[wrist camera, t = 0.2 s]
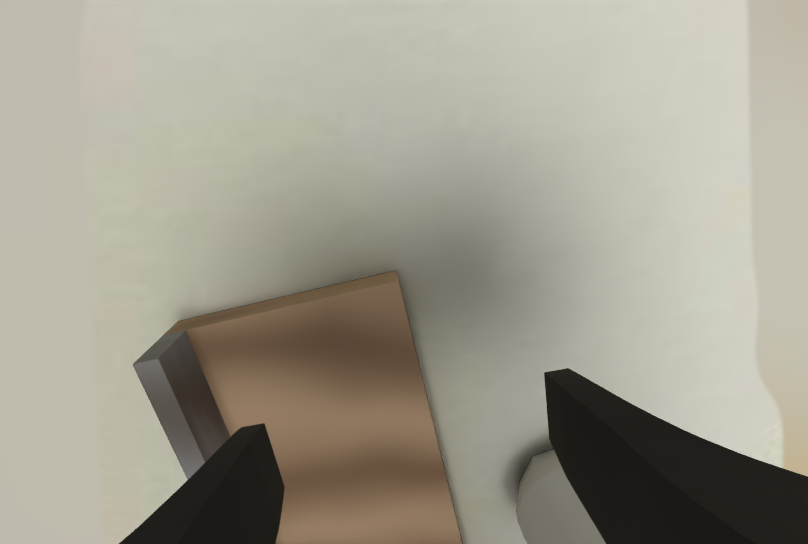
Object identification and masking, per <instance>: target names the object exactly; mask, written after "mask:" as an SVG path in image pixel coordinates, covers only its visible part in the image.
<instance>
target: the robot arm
mask: <svg viewBox="0 0 808 544" xmlns="http://www.w3.org/2000/svg"><path fill="white" fill-rule="evenodd" d="M544 375H545V388H546V401H547V414H548V427H549V439H550V442H551V444H552V446H553V449H554V451H555V453H556V455H557V458H558V460H559V462H560V464H561V467H562V469H563V471H564V473H565V475H566V477H567V479H568V481H569V482H570V484H571V486H572V488H573V489H574V491H575V493H576V494H577V496H578V498H579V499H580V501H581V503H582V504H583V506H584V508H585V510H586V511H587V513H588V515H589V516H590V518H591V520H592V521H593V523H594V525H595V526H596V528H597V530H598V531H599V533H600V535H601V536H602V538H603V540H604V541H605V543H606V544H808V477H807V476H804V475H801V474H797V473H795V472H792V471H789V470H786V469H783V468H780V467H777V466H774V465H771V464H768V463H765V462H762V461H759V460H756V459H753V458H751V457H748V456H745V455H742V454H740V453H737V452H735V451H732V450H730V449H727V448H725V447H722V446H720V445H717V444H715V443H712V442H710V441H707V440H705V439H703V438H700V437H698V436H696V435H693V434H691V433H689V432H687V431H684V430H682V429H680V428H678V427H676V426H674V425H672V424H670V423H668V422H666V421H664V420H662V419H659V418H657V417H655V416H653V415H652V414H650V413H648V412H646V411H644V410H642V409H640V408H638V407H636V406H634V405H632V404H631V403H629V402H627V401H625V400H623V399H621V398H620V397H618V396H616V395H614V394H613V393H611V392H609V391H607V390H606V389H604V388H602V387H600V386H599V385H597V384H595V383H593V382H592V381H590V380H588V379H586V378H585V377H583V376H581V375H579V374H578V373H576V372H574V371H572V370H570V369H568V368H567V369H562V370H556V371H551V372H545V373H544ZM284 489H285V486H284V483H283V480H282V477H281V474H280V470H279V467H278V464H277V461H276V458H275V455H274V452H273V448H272V445H271V442H270V439H269V436H268V433H267V430H266V426H265V423H262V424H257V425H251V426H245V427H241V428H239V429H238V430H237V431H236V432H235V433H234V434H233V435H232V436H231V437H230V438H229V439H228V440H227V441H226V442H225V443H224V444H223V445H222V446H221V447H220V448H219V449H218V450H217V451H216V452H215V453H214V454H213V455H212V456H211V457H210V458H209V459H208V460H207V461H206V462H205V463H204V464H203V465H202V466H201V467H200V468H199V469H198V470H197V471H196V472H195V473H194V474H193V475H192V476H191V477H190V478H189V479H188V480H187V481H186V482H185V483H184V484H183V485H182V486H181V487H180V488H179V489H178V490H177V491H176V492H175V493H174V494H173V495H172V496H171V497H170V498H169V499H168V500H167V501H166V502H165V503H164V504H162V505H161V506H160V507H159V508H158V509H157V510H156V511H155V512H154V513H153V514H152V515H151V516H150V517H149V518H148V519H146V520H145V521H144V522H143V523H142V524H141V525H140V526H139V527H138V528H137V529H135V530H134V531H133V532H132V533H131V534H130V535H129V536H127V537H126V538H125V539H124V540H123V541H122V542H120V543H119V544H275V543H276V539H277V535H278V531H279V526H280V519H281V513H282V505H283V497H284Z"/></svg>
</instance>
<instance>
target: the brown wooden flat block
mask: <svg viewBox="0 0 808 544" xmlns="http://www.w3.org/2000/svg"><path fill="white" fill-rule="evenodd" d="M133 367H134V369H135V371H136V373H137V375H138V377H139V379H140V381H141V383H142V385H143V387H144V389H145V392H146V394H147V396H148V398H149V400H150V402H151V404H152V406H153V408H154V410H155V412H156V415H157V417H158V419H159V421H160V423H161V425H162V427H163V429H164V431H165V433H166V435H167V437H168V440H169V442H170V444H171V446H172V448H173V450H174V452H175V454H176V456H177V458H178V460H179V462H180V465H181V467H182V469H183V471H184V473H185V475H186V477H187V479H189V478H190V477H191V476H192V475H193V474H194V473H195V472H196V471H197V470H198V469H199V468H200V467H201V466H202V465H203V464H204V463H205V462H206V461H207V460H208V459H209V458H210V457H211V456H212V455H213V454H214V453H215V452H216V451H217V450H218V449H219V448H220V447H221V446H222V445H223V444H224V443H225V442H226V441H227V440H228V439H229V438H230V437H231V436H232V435H233V434H234V433H235V432H236V431H237V430H238V429H239V428H241V427H245V426H251V425H257V424H262V423H265V426H266V430H267V433H268V436H269V439H270V442H271V445H272V448H273V452H274V455H275V458H276V461H277V464H278V467H279V470H280V474H281V477H282V480H283V483H284V486H285V489H284V497H283V505H282V513H281V519H280V526H279V531H278V535H277V539H276V543H275V544H463V543H462V538H461V534H460V530H459V526H458V522H457V518H456V514H455V509H454V505H453V501H452V497H451V493H450V489H449V485H448V481H447V476H446V472H445V468H444V464H443V460H442V456H441V452H440V448H439V443H438V439H437V435H436V431H435V427H434V423H433V419H432V414H431V410H430V406H429V402H428V398H427V394H426V390H425V386H424V381H423V377H422V373H421V369H420V365H419V361H418V357H417V352H416V348H415V344H414V340H413V336H412V332H411V328H410V324H409V319H408V315H407V311H406V307H405V303H404V299H403V295H402V291H401V286H400V282H399V278H398V274H397V270H396V271H392V272H388V273H383V274H379V275H375V276H370V277H366V278H362V279H358V280H353V281H349V282H345V283H340V284H336V285H332V286H327V287H323V288H319V289H315V290H310V291H306V292H302V293H297V294H293V295H289V296H285V297H280V298H276V299H272V300H267V301H263V302H259V303H254V304H250V305H246V306H242V307H237V308H233V309H229V310H224V311H220V312H216V313H212V314H207V315H203V316H199V317H194V318H190V319H186V320H181V321H178V322H177V323H176V324H175V325H174V326H173V327H172V328H171V329H169V330H168V331H167V332H166V333H165V334H164V335H163V336H162V337H161V338H160V339H159V340H158V341H157V342H156V343H155V344H154V345H153V346H152V347H151V348H149V349H148V350H147V351H146V352H145V353H144V354H143V355H142V356H141V357H140V358H139V359H138V360H137V361H136V362H135V363H134V364H133Z"/></svg>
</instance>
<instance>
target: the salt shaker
mask: <svg viewBox="0 0 808 544" xmlns="http://www.w3.org/2000/svg"><path fill="white" fill-rule="evenodd" d="M516 513H517V519H518V523H519V525H520V528H521V530H522V533H523V536H524V538H525V540H526V542H527V543H528V544H606V543H605V541H604V540H603V538H602V536H601V535H600V533H599V531H598V530H597V528H596V526H595V525H594V523H593V521H592V520H591V518H590V516H589V515H588V513H587V511H586V510H585V508H584V506H583V504H582V503H581V501H580V499H579V498H578V496H577V494H576V493H575V491H574V489H573V488H572V486H571V484H570V482H569V481H568V479H567V477H566V475H565V473H564V471H563V469H562V467H561V464H560V462H559V460H558V458H557V455H556V453H555V451H554V449H553V450H550V451H547V452H544V453H541V454H538V455H535V456H533V457H532V459H531V461H530V463H529V465H528V467H527V469H526V471H525V473H524V475H523V477H522V479H521V480H520V485H519V493H518V501H517V510H516Z"/></svg>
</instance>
